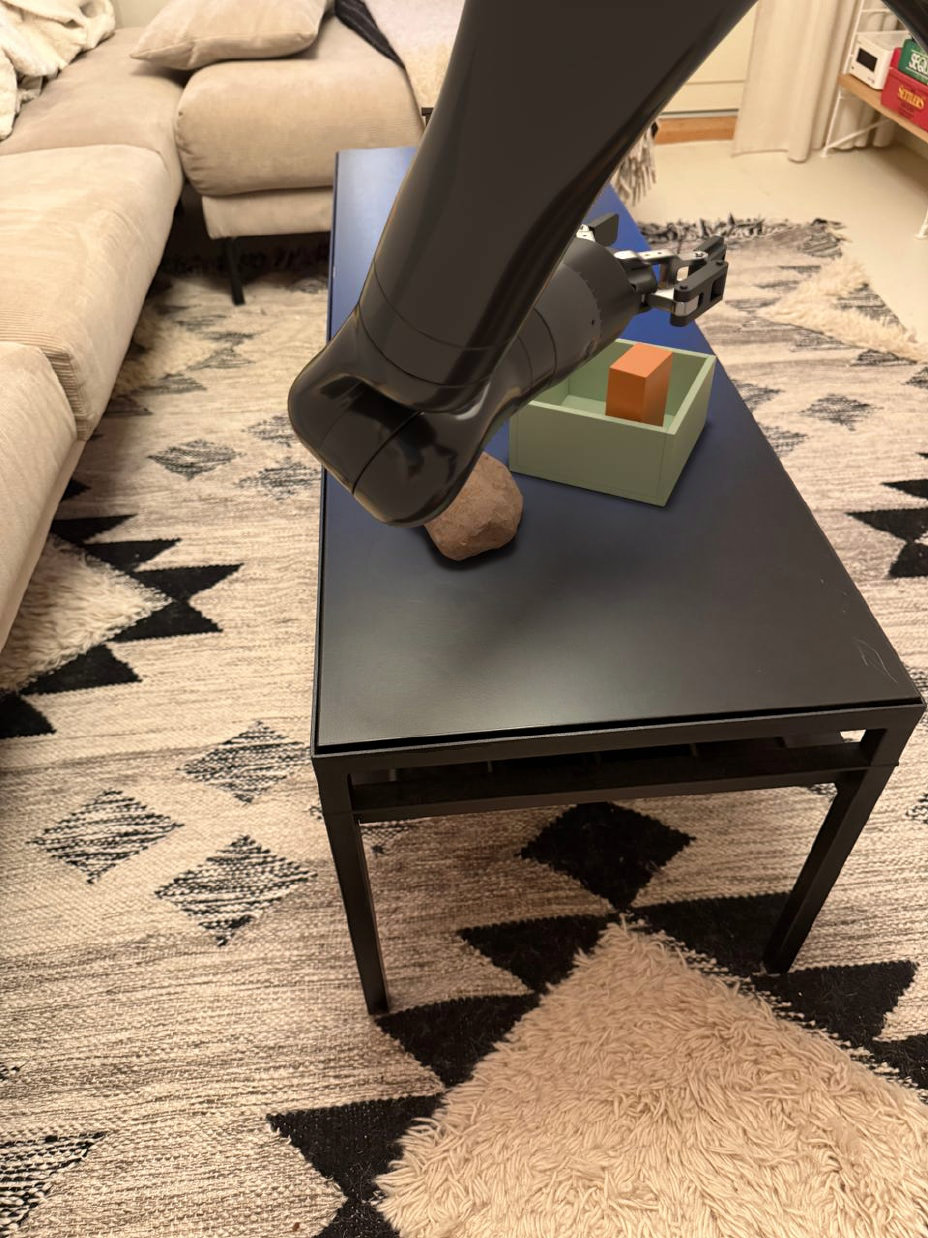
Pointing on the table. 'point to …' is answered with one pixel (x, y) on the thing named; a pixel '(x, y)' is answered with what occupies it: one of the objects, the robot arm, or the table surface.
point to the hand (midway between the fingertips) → (664, 237)
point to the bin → (612, 430)
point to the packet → (639, 385)
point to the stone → (479, 512)
